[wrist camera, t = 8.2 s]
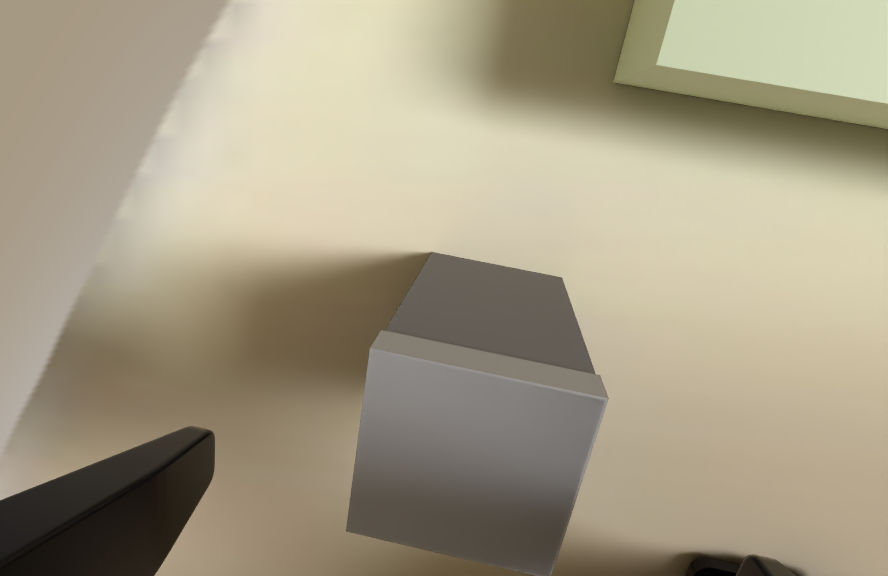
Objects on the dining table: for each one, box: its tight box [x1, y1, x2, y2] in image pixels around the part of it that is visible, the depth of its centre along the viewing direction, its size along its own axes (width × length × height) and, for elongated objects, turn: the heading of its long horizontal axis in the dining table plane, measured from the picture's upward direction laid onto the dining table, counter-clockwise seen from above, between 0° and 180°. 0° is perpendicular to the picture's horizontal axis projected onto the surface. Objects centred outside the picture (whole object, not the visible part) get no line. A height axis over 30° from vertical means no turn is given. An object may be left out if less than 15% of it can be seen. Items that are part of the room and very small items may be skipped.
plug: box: [346, 252, 609, 576], centre depth 12 cm, size 4×4×7 cm
